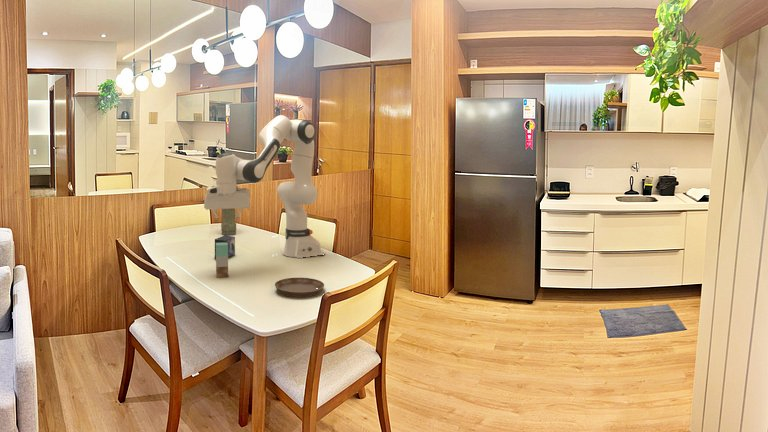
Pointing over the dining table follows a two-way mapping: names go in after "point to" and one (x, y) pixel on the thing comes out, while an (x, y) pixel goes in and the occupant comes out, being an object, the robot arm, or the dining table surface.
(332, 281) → the dining table surface
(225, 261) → the grey mid block
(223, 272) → the walnut base block
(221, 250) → the teal cube
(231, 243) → the small box
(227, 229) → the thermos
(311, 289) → the plant saucer
